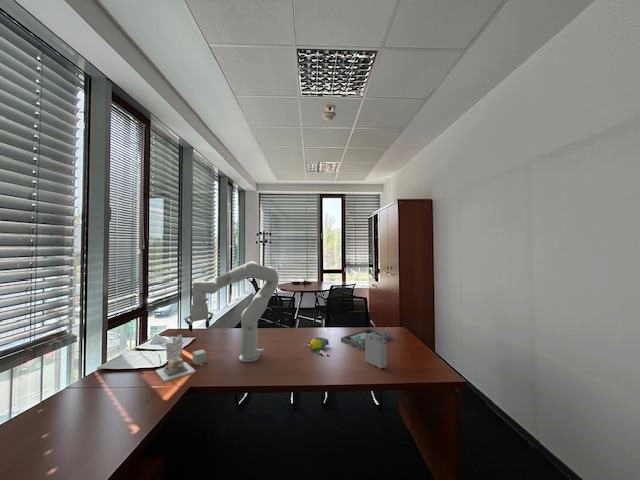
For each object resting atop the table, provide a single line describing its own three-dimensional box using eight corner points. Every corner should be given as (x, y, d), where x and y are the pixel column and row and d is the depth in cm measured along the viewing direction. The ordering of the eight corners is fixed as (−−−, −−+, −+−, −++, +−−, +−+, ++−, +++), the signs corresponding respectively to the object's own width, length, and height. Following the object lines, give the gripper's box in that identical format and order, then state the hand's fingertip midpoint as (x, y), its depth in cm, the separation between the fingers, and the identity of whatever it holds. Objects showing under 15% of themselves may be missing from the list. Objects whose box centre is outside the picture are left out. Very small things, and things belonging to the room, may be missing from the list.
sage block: (202, 358, 178) (202, 349, 178) (206, 362, 174) (206, 352, 174) (192, 361, 174) (192, 351, 174) (196, 364, 170) (196, 354, 170)
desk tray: (368, 331, 231) (368, 328, 231) (391, 338, 216) (391, 334, 216) (340, 341, 209) (340, 337, 209) (363, 350, 194) (363, 345, 193)
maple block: (179, 367, 164) (179, 356, 164) (183, 370, 160) (183, 359, 160) (168, 370, 160) (168, 359, 160) (171, 374, 156) (171, 363, 156)
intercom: (385, 332, 218) (361, 339, 203) (385, 338, 218) (361, 345, 203) (372, 328, 228) (349, 334, 214) (372, 333, 228) (349, 339, 214)
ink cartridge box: (175, 356, 182) (175, 333, 182) (182, 356, 181) (182, 333, 181) (165, 361, 174) (166, 337, 174) (173, 362, 173) (173, 338, 173)
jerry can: (390, 369, 164) (390, 326, 164) (384, 371, 162) (384, 327, 162) (370, 360, 177) (371, 320, 177) (365, 362, 174) (365, 321, 174)
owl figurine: (298, 333, 202) (316, 330, 211) (298, 345, 202) (316, 341, 211) (319, 345, 179) (339, 341, 187) (319, 359, 179) (338, 355, 187)
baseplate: (185, 363, 171) (185, 359, 171) (195, 372, 160) (195, 368, 160) (155, 371, 160) (155, 368, 160) (163, 382, 149) (163, 378, 149)
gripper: (210, 298, 183) (210, 325, 183) (182, 302, 171) (182, 331, 171) (215, 300, 177) (215, 328, 177) (186, 304, 165) (186, 334, 165)
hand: (199, 329), depth 174 cm, fingers open, 9 cm apart
